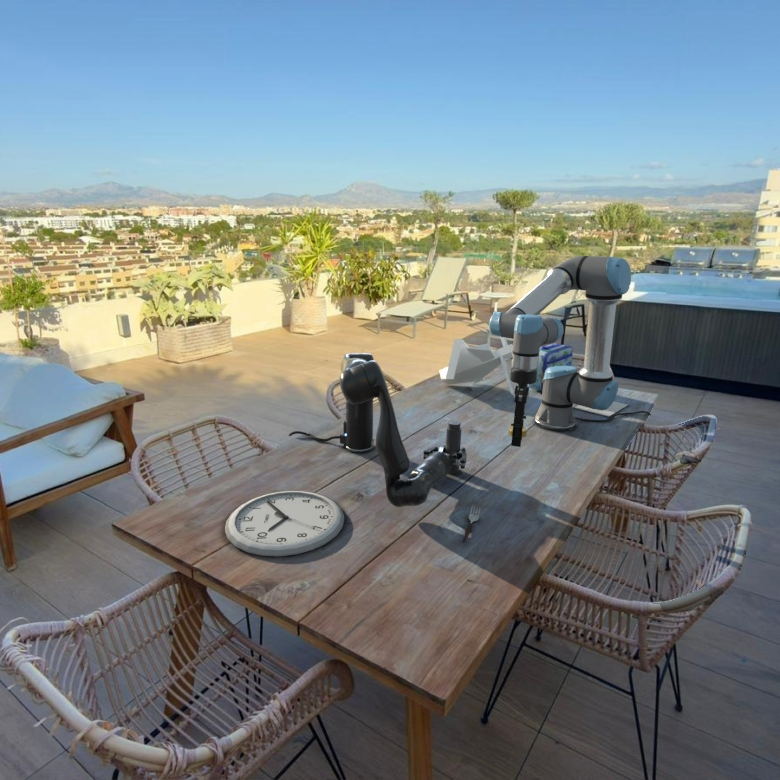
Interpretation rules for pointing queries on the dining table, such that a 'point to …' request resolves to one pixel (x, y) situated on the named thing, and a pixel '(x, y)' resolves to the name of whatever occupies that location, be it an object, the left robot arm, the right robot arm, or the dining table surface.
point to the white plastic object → (476, 363)
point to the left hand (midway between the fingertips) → (455, 448)
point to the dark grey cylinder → (453, 441)
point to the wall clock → (284, 523)
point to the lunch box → (551, 361)
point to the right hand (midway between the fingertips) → (516, 442)
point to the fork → (472, 519)
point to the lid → (522, 431)
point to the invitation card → (608, 412)
